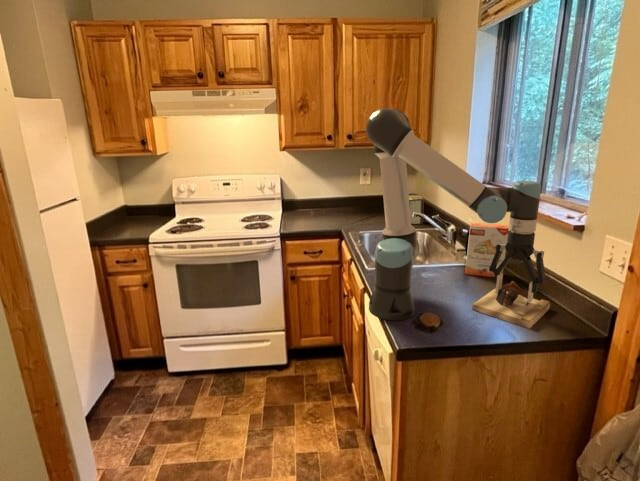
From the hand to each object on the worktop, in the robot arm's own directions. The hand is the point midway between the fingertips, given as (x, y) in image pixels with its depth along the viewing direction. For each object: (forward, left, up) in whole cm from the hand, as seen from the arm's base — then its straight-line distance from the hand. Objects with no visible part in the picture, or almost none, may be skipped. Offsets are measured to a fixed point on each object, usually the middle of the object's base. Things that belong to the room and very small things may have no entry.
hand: (513, 296), depth 129 cm
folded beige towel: (0, 0, -5) cm, 5 cm away
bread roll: (-15, -28, -5) cm, 32 cm away
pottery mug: (0, 0, -3) cm, 3 cm away
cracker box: (-20, +24, -5) cm, 32 cm away
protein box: (-91, +80, -5) cm, 121 cm away
